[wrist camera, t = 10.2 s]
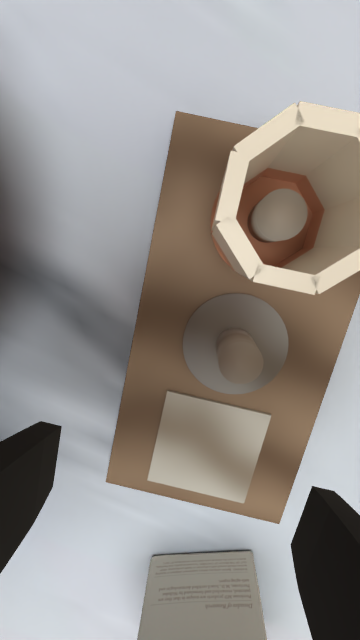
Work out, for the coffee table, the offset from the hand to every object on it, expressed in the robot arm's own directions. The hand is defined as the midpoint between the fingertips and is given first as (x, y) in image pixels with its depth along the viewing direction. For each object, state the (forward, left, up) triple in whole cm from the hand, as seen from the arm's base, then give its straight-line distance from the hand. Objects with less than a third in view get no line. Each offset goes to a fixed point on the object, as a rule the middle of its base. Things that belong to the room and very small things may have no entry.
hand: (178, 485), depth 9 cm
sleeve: (+8, -2, -9) cm, 12 cm away
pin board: (+2, -2, -10) cm, 11 cm away
